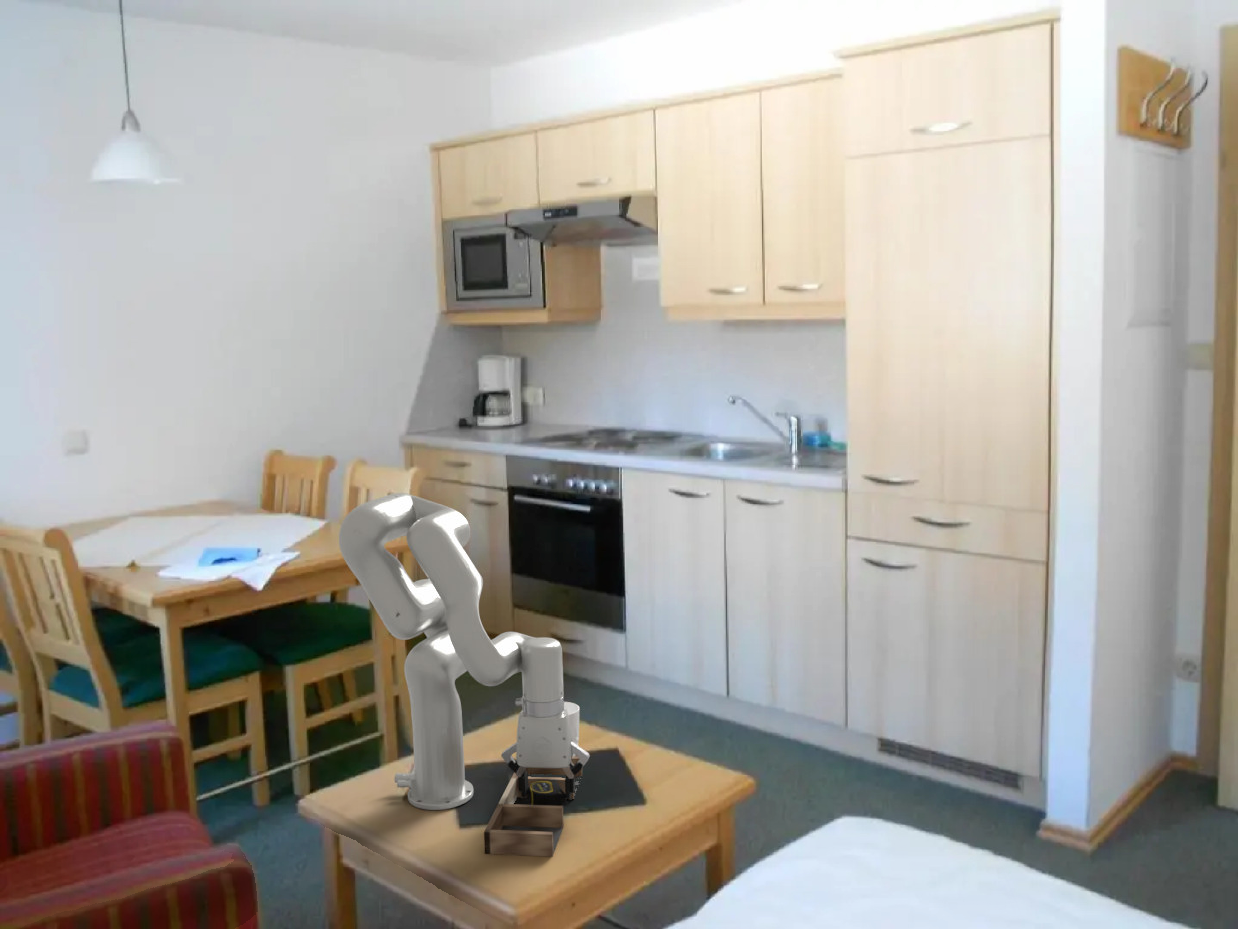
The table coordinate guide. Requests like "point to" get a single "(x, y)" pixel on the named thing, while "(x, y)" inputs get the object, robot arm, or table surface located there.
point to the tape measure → (546, 793)
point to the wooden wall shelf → (526, 820)
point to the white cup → (573, 720)
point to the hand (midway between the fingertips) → (546, 794)
